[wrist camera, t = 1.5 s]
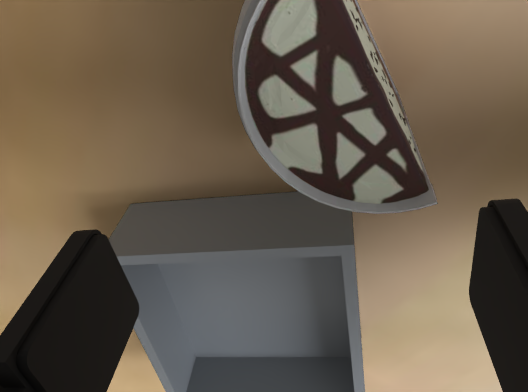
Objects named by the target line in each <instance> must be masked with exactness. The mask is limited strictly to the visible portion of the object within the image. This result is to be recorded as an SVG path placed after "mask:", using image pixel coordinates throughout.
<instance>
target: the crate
mask: <svg viewBox="0 0 528 392" xmlns="http://www.w3.org/2000/svg"><path fill="white" fill-rule="evenodd" d="M108 240H109V242H110V244H111V246H112V248H113V250H114V252H115V254H116V256H117V258H118V260H119V263H120V265H121V267H122V269H123V271H124V273H125V275H126V277H127V279H128V281H129V283H130V285H131V287H132V290H133V292H134V294H135V296H136V298H137V300H138V302H139V315H138V318H137V320H136V322H135V325H134V327H133V328H134V330H135V332H136V334H137V336H138V338H139V340H140V342H141V344H142V346H143V348H144V350H145V352H146V354H147V356H148V358H149V360H150V361H151V363H152V365H153V367H154V369H155V371H156V373H157V375H158V377H159V379H160V381H161V383H162V385H163V387H164V389H165V391H166V392H365V385H364V371H363V358H362V344H361V330H360V316H359V302H358V289H357V275H356V261H355V247H354V234H353V220H352V211H348V210H344V209H339V208H335V207H332V206H329V205H326V204H323V203H321V202H318V201H316V200H314V199H312V198H310V197H308V196H306V195H304V194H302V193H300V192H299V191H298V192H285V193H271V194H258V195H244V196H230V197H217V198H203V199H189V200H176V201H162V202H148V203H135V204H130V206H129V207H128V209H127V210H126V212H125V214H124V215H123V217H122V218H121V220H120V222H119V223H118V225H117V227H116V228H115V230H114V231H113V233H112V235H111V236H110V238H109V239H108Z"/></svg>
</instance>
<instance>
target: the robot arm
mask: <svg viewBox="0 0 528 392" xmlns="http://www.w3.org/2000/svg"><path fill="white" fill-rule="evenodd" d="M469 296H470V302H471V305H472V308H473V311H474V313H475V316H476V319H477V322H478V324H479V327H480V330H481V333H482V335H483V338H484V341H485V344H486V346H487V349H488V352H489V355H490V357H491V360H492V363H493V366H494V368H495V371H496V374H497V377H498V379H499V382H500V385H501V388H502V390H503V392H528V212H527V210H526V209H525V207H524V206H523V204H522V203H521V201H520V200H519V199H505V200H491V201H489V203H488V206H487V207H482V208H480V211H479V217H478V224H477V232H476V240H475V248H474V255H473V263H472V271H471V278H470V286H469ZM138 315H139V302H138V300H137V298H136V296H135V294H134V292H133V290H132V287H131V285H130V283H129V281H128V279H127V277H126V275H125V273H124V271H123V269H122V267H121V265H120V263H119V260H118V258H117V256H116V254H115V252H114V250H113V248H112V246H111V244H110V242H109V240H108V238H107V236H105V235H103V234H101V232H100V231H98V230H83V231H76V232H74V233H73V234H72V235H71V236H70V238H69V239H68V240H67V242H66V243H65V245H64V246H63V247H62V249H61V250H60V252H59V253H58V255H57V256H56V257H55V259H54V260H53V262H52V263H51V264H50V266H49V267H48V269H47V270H46V272H45V273H44V274H43V276H42V277H41V279H40V280H39V281H38V283H37V284H36V286H35V287H34V288H33V290H32V291H31V293H30V294H29V296H28V297H27V298H26V300H25V301H24V303H23V304H22V305H21V307H20V308H19V310H18V311H17V313H16V314H15V315H14V317H13V318H12V320H11V321H10V322H9V324H8V325H7V327H6V328H5V330H4V331H3V332H2V334H1V335H0V392H107V389H108V387H109V385H110V382H111V380H112V377H113V375H114V373H115V370H116V368H117V365H118V363H119V361H120V358H121V356H122V353H123V351H124V349H125V346H126V344H127V342H128V339H129V337H130V334H131V332H132V330H133V327H134V325H135V322H136V320H137V318H138Z"/></svg>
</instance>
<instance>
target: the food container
mask: <svg viewBox="0 0 528 392" xmlns="http://www.w3.org/2000/svg"><path fill="white" fill-rule="evenodd" d="M232 66H233V85H234V93H235V98H236V103H237V108H238V112H239V115H240V118H241V120H242V123H243V126H244V129H245V131H246V133H247V135H248V136H249V138H250V140H251V142H252V144H253V145H254V147H255V149H256V150H257V151H258V153H259V154H260V155H261V156H262V158H263V159H264V160H265V162H266V163H267V164H268V165H269V167H270V168H271V169H272V170H273V171H274V172H275V173H276V174H277V175H278V176H279V177H281V178H282V179H283V180H284V181H285V182H286V183H287V184H289V185H290V186H292V187H293V188H295V189H296V190H298V191H299V192H300V193H302V194H304V195H306V196H308V197H310V198H312V199H314V200H316V201H318V202H321V203H323V204H326V205H329V206H332V207H335V208H339V209H344V210H348V211H353V212H361V213H374V214H381V213H399V212H405V211H411V210H417V209H421V208H425V207H428V206H432V205H435V204H438V203H437V199H436V195H435V192H434V189H433V186H432V184H431V183H430V180H429V178H428V175H427V172H426V169H425V166H424V164H423V161H422V158H421V155H420V152H419V150H418V147H417V144H416V141H415V138H414V136H413V133H412V130H411V127H410V124H409V122H408V119H407V116H406V113H405V110H404V108H403V105H402V102H401V99H400V96H399V94H398V91H397V89H396V87H395V85H394V83H393V80H392V78H391V76H390V74H389V71H388V69H387V67H386V65H385V62H384V60H383V58H382V56H381V54H380V51H379V49H378V47H377V45H376V42H375V40H374V38H373V36H372V33H371V31H370V29H369V27H368V25H367V22H366V20H365V18H364V16H363V13H362V11H361V9H360V7H359V4H358V2H357V0H245V2H244V4H243V6H242V9H241V12H240V16H239V19H238V23H237V26H236V30H235V36H234V44H233V52H232Z"/></svg>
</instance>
